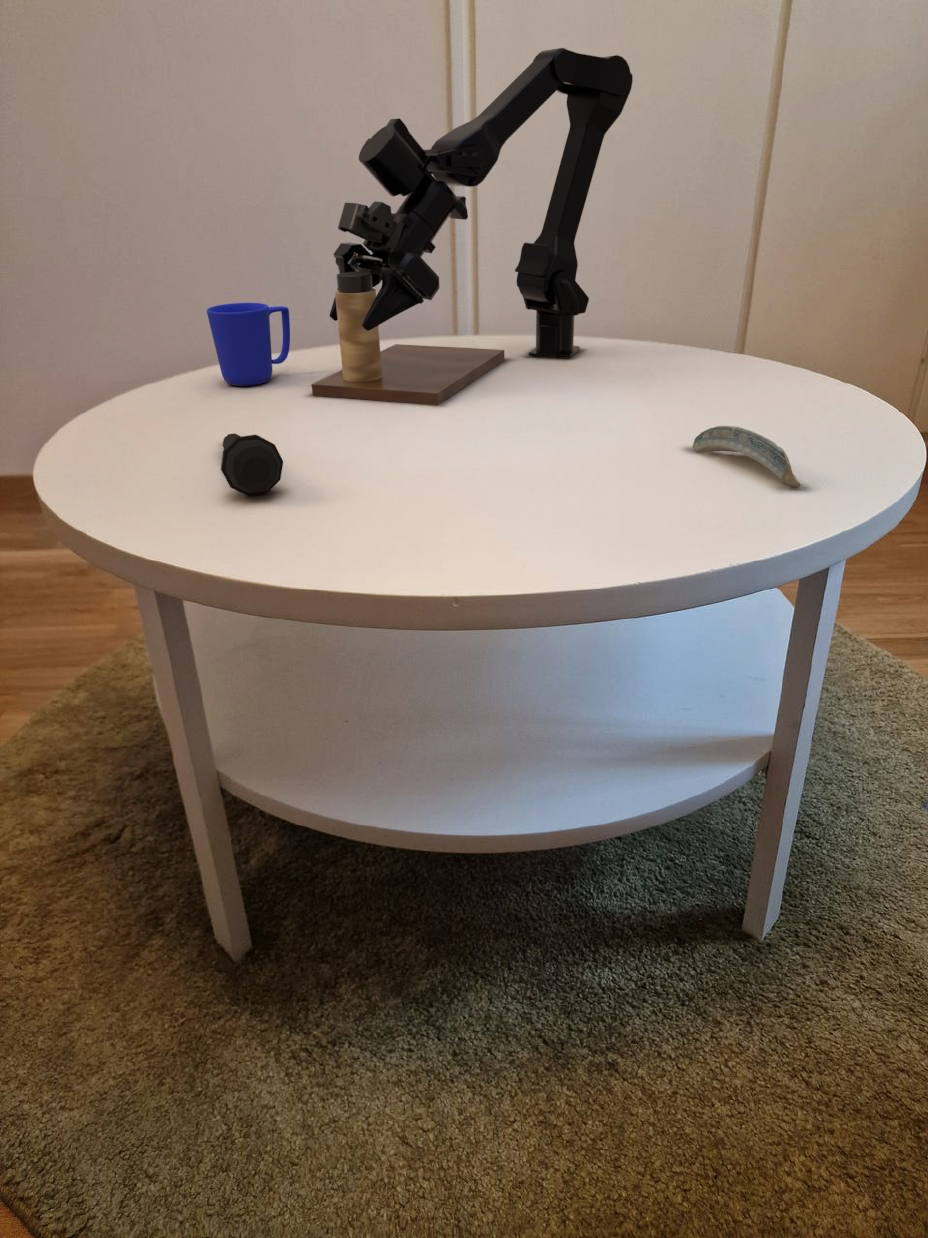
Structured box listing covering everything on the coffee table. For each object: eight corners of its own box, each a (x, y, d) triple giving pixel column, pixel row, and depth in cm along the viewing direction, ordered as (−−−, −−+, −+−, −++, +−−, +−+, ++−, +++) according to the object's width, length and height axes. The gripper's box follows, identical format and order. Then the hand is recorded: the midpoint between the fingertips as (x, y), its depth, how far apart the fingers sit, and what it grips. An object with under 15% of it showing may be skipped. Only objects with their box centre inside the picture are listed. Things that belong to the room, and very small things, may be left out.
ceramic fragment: (690, 448, 89) (694, 411, 87) (730, 441, 91) (736, 405, 89) (781, 493, 78) (788, 453, 76) (825, 484, 79) (834, 444, 77)
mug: (311, 375, 122) (303, 301, 118) (240, 392, 115) (228, 314, 110) (277, 367, 127) (268, 296, 123) (207, 383, 120) (194, 308, 115)
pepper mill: (384, 372, 116) (376, 270, 110) (379, 381, 112) (371, 275, 105) (346, 373, 116) (337, 271, 110) (340, 382, 112) (330, 277, 106)
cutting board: (396, 353, 133) (395, 343, 133) (504, 359, 128) (504, 349, 127) (312, 395, 112) (311, 384, 112) (438, 405, 107) (437, 393, 106)
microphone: (219, 472, 95) (244, 512, 78) (193, 425, 93) (213, 455, 75) (262, 450, 96) (298, 485, 79) (238, 403, 94) (269, 428, 76)
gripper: (339, 174, 111) (272, 273, 111) (413, 176, 97) (335, 289, 98) (396, 236, 119) (333, 328, 119) (471, 245, 105) (399, 349, 105)
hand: (348, 323), depth 110 cm, fingers open, 9 cm apart
